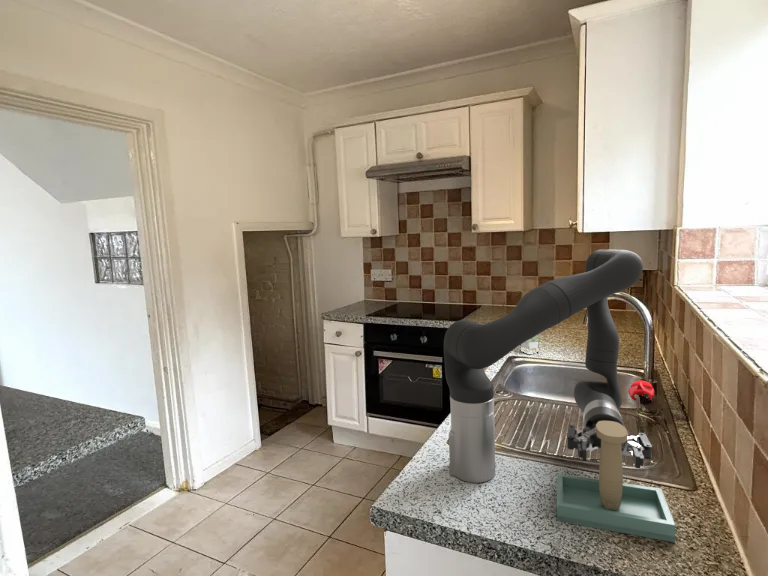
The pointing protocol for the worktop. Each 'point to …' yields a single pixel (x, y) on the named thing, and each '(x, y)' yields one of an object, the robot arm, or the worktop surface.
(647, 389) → the red lobed piece
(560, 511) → the tray
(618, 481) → the handle
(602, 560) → the worktop surface
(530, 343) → the syrup box
